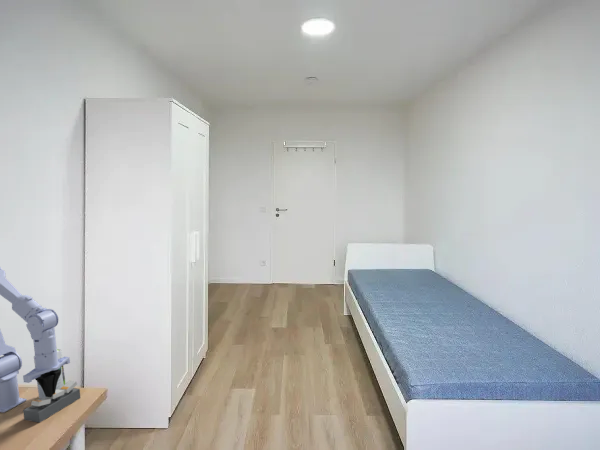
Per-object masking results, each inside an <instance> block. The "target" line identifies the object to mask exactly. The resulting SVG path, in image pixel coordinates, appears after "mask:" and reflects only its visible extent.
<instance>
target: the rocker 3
mask: <svg viewBox="0 0 600 450" xmlns="http://www.w3.org/2000/svg"><path fill="white" fill-rule="evenodd" d="M76 386H78V383H77V381H76V380H68V381H67V382H65V385H64V386H63V387H61V388H60V390H64V393H69V392H70V391H71V390H72V389H73V388H75V387H76Z"/></svg>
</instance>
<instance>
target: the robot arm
mask: <svg viewBox="0 0 600 450" xmlns="http://www.w3.org/2000/svg"><path fill="white" fill-rule="evenodd" d="M6 277H7V276H6V271H5V270H4V269H3V268H2V267H1V266H0V296H1V297H2V298H3V299H5V300H6V301H7V302H10V304H11V310H12V311H13V312H15V314H17V315H18V316H19V317H20V318H21V319H22V320H23V321H25V322H26V325H25V326H26V328H27V330H28V332H29V333H30V338H31V340H33V348H34V349H33V350H34V356H35V361H36V368H35V367H34V368H33V369H32V370H30V371H29V372H27V373H26V374H24V375H22V379H23V383H25V384H26V383H28V384H29V383H31V382H32V381H33V380H35V381H36V383H37V382H38V383H39V384H40V386H41V387H42V389H43V391H44V394H45V396H46V397H52V396H53V394H55V390H56V385H57V382H58V379H59V377H60V375H61V370H58V369H59V368H60V367H61V366H63V367H64V366H65V365H69V364H70V363H71V359H70V356H62V358H60V359H58V357H57V349H58V348H57V340H56V337H57V336H56V329H55V328H56V326H58V324H59V316H58V314H57V313H56V311H55V310H54V309H52V308H47V307H43V306H42V305H41V304H39V303H38V301H36V300H35V299H34V298H33V297H32V296H31V295H28V294H23V295H22V293H21V292H20V291H19V290H18V289H17V288H16V287H15V286H14V285H13V284H12V283H11V282H10V281H9V279H7V278H6ZM22 366H23V360H22V357H21V356H20V355H19V353H18V351H17V350H16V347H14V346H11V345H8V344H7V343H6V341H5V339H4V336H3V333H2V330H1V329H0V413H6V412H8V411H9V410H11V409H13V408H15V407H17V406H19V405H20V404H23V403H25V402H26V401H28V399H27V398H22V397H20V391H19V383H18V375H19V371H20V370H21V368H22Z"/></svg>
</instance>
